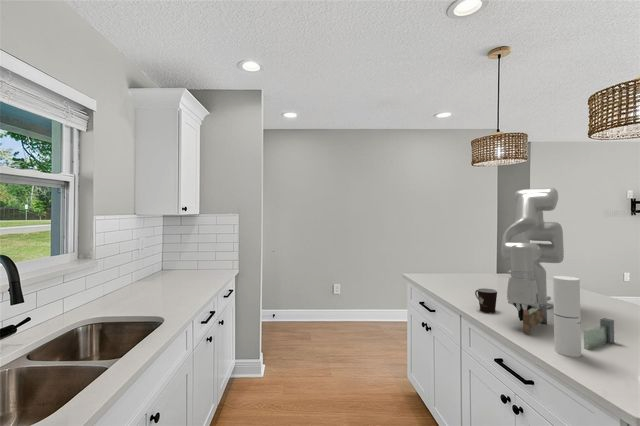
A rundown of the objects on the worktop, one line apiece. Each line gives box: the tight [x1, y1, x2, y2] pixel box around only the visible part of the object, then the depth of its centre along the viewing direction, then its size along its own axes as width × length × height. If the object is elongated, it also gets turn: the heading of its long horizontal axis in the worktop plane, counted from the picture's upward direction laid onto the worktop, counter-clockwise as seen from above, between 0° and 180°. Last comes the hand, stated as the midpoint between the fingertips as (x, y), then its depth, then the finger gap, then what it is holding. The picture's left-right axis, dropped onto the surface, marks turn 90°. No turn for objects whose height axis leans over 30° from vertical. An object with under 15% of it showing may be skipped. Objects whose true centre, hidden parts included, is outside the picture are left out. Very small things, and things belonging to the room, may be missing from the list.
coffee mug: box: [474, 287, 498, 314], centre depth 157 cm, size 12×9×10 cm
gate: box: [522, 309, 543, 335], centre depth 130 cm, size 17×2×9 cm, turn 129°
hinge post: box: [522, 304, 548, 326], centre depth 141 cm, size 3×11×8 cm, turn 24°
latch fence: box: [583, 317, 615, 350], centre depth 114 cm, size 15×3×8 cm, turn 115°
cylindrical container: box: [552, 275, 582, 358], centre depth 109 cm, size 7×7×25 cm
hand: (523, 320), depth 131 cm, fingers closed
